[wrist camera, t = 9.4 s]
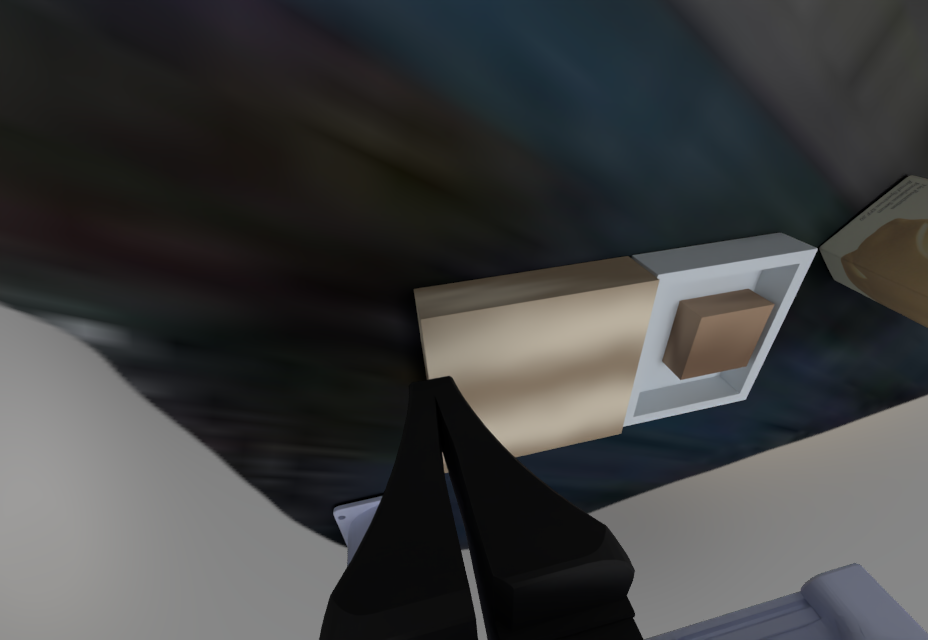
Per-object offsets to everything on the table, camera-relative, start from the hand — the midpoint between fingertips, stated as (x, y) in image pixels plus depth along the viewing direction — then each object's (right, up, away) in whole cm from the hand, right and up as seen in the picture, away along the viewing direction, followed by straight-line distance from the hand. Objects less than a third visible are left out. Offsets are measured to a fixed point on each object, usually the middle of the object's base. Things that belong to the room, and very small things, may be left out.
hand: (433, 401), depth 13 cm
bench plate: (+5, 0, +12) cm, 13 cm away
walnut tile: (+18, +1, +12) cm, 22 cm away
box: (+16, +2, +14) cm, 21 cm away
